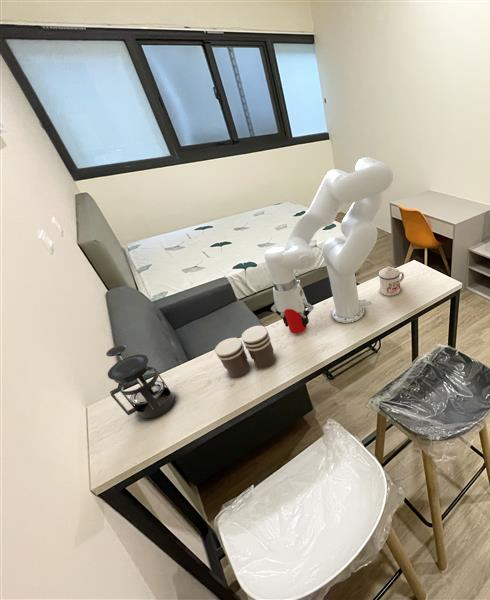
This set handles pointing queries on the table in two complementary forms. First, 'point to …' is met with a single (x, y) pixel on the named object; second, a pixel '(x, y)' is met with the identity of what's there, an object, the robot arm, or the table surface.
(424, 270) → the table surface
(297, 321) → the beverage can
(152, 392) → the french press
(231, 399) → the table surface
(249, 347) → the cup stacks
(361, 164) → the robot arm
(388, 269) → the teacup with lid
